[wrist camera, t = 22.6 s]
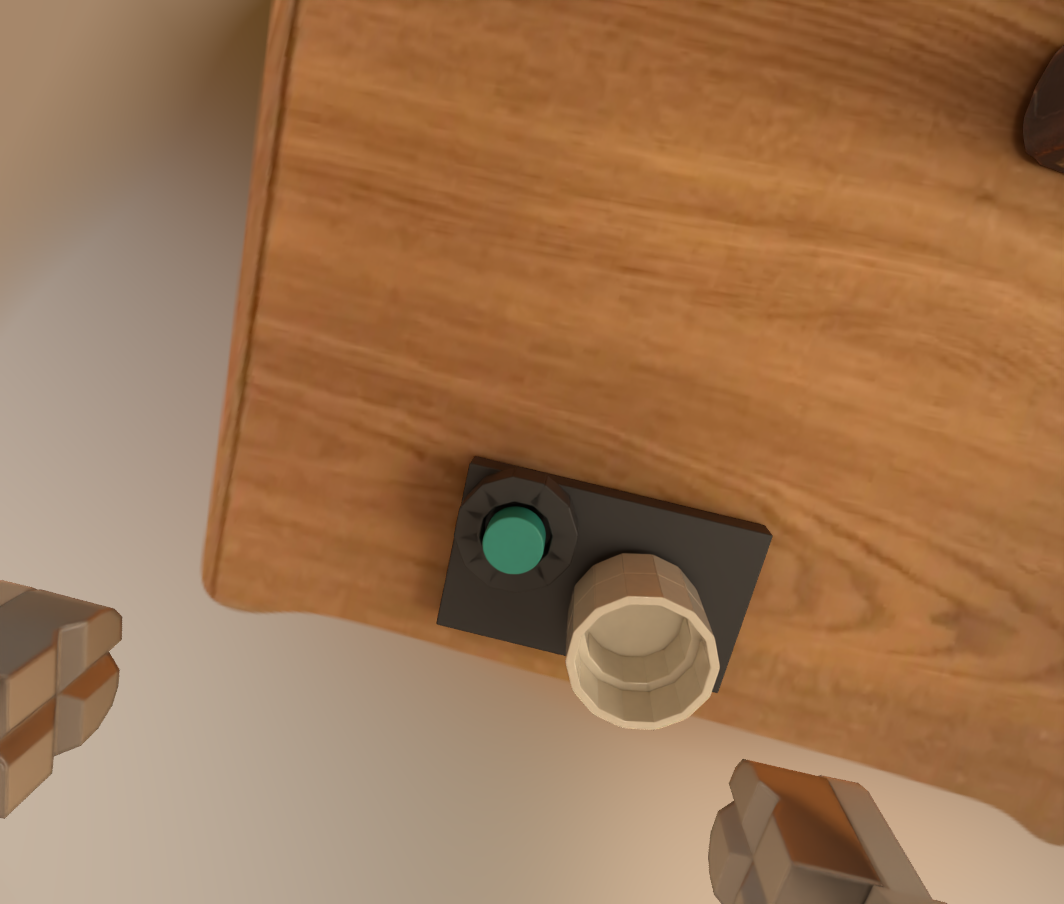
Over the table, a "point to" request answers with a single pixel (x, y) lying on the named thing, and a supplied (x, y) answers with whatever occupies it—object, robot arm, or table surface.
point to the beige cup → (639, 643)
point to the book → (1047, 117)
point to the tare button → (514, 540)
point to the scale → (589, 555)
